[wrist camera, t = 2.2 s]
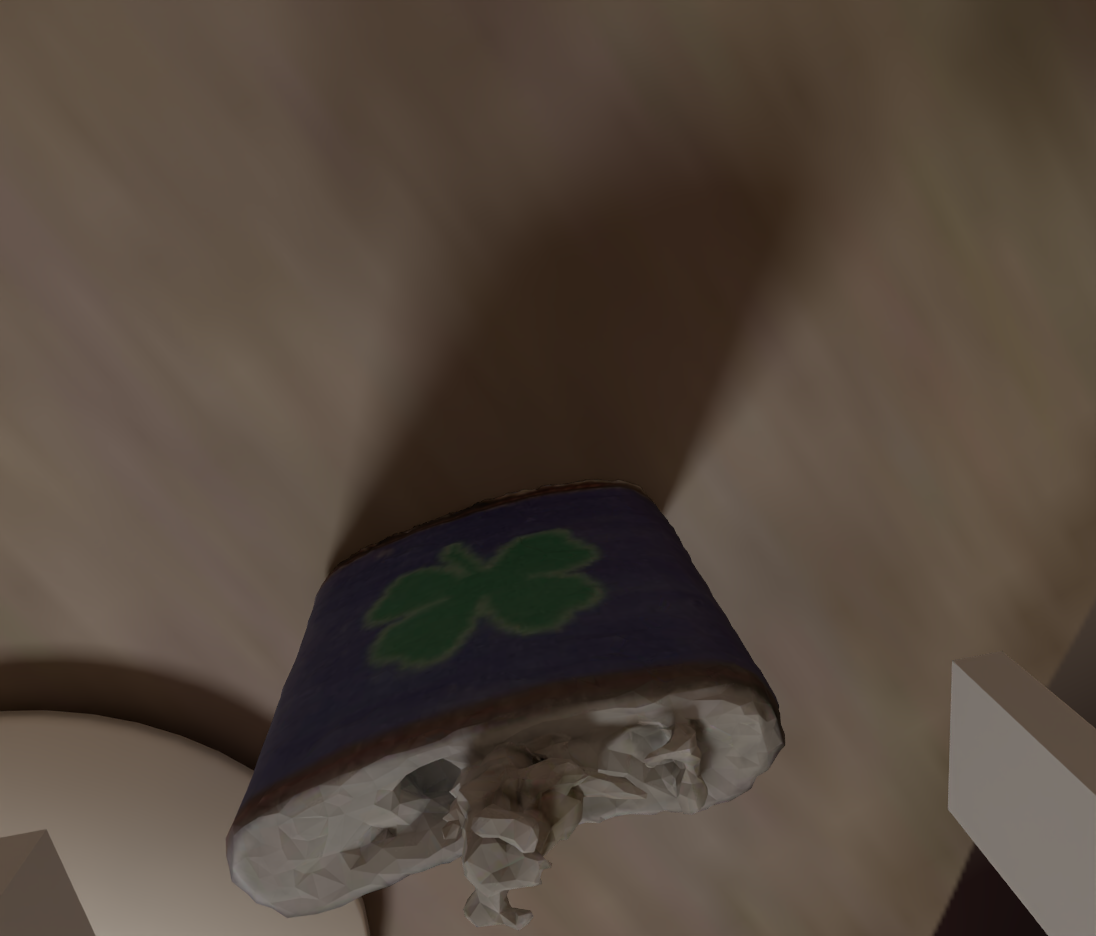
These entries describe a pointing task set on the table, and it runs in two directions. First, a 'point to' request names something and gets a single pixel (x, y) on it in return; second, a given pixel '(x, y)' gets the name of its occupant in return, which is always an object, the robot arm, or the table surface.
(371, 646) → the blue hip flask
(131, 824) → the plate
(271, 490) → the table surface
